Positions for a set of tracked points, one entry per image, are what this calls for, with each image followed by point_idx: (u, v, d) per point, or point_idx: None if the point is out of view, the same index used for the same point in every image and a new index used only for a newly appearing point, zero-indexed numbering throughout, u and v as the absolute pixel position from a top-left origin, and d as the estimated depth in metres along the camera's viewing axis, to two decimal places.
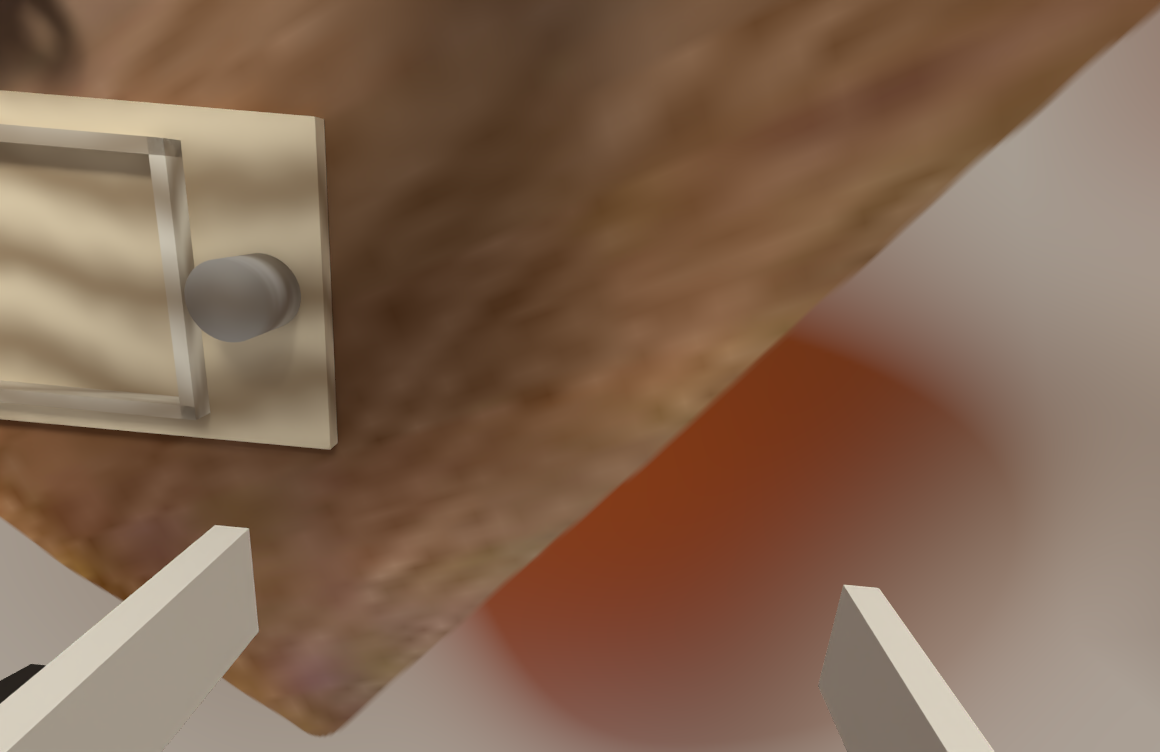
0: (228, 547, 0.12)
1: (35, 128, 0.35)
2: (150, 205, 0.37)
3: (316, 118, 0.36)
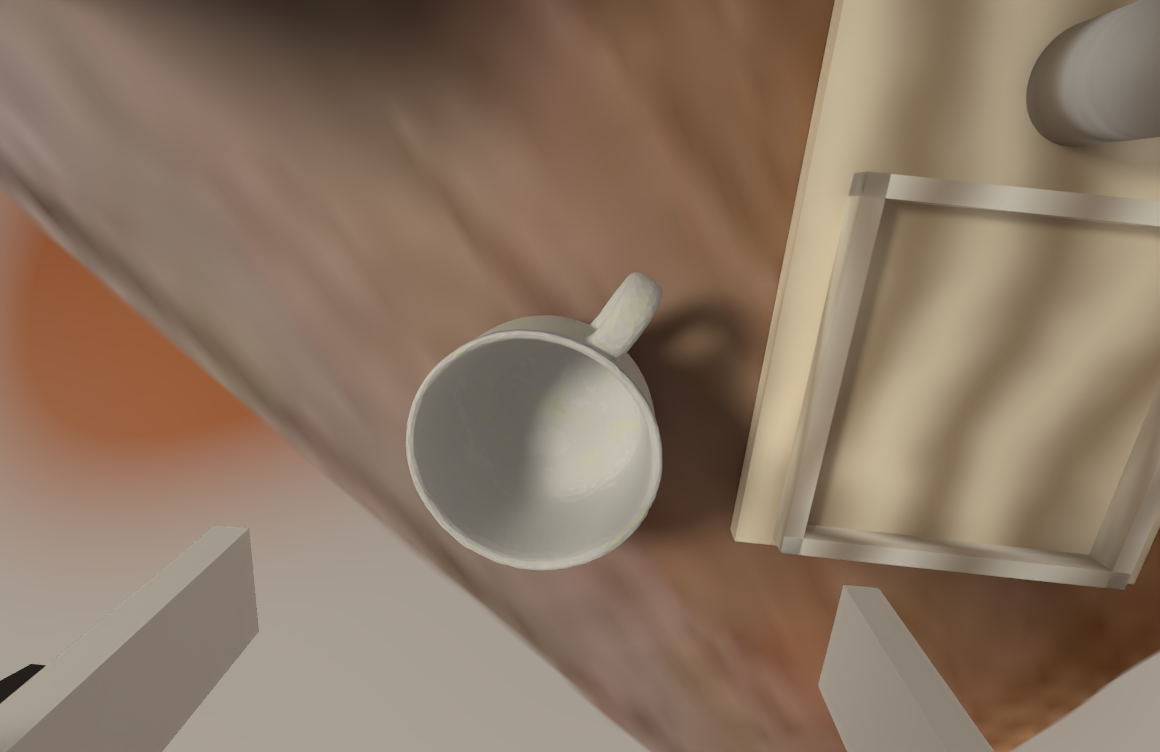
0: (228, 547, 0.12)
1: (829, 345, 0.27)
2: (929, 236, 0.27)
3: None
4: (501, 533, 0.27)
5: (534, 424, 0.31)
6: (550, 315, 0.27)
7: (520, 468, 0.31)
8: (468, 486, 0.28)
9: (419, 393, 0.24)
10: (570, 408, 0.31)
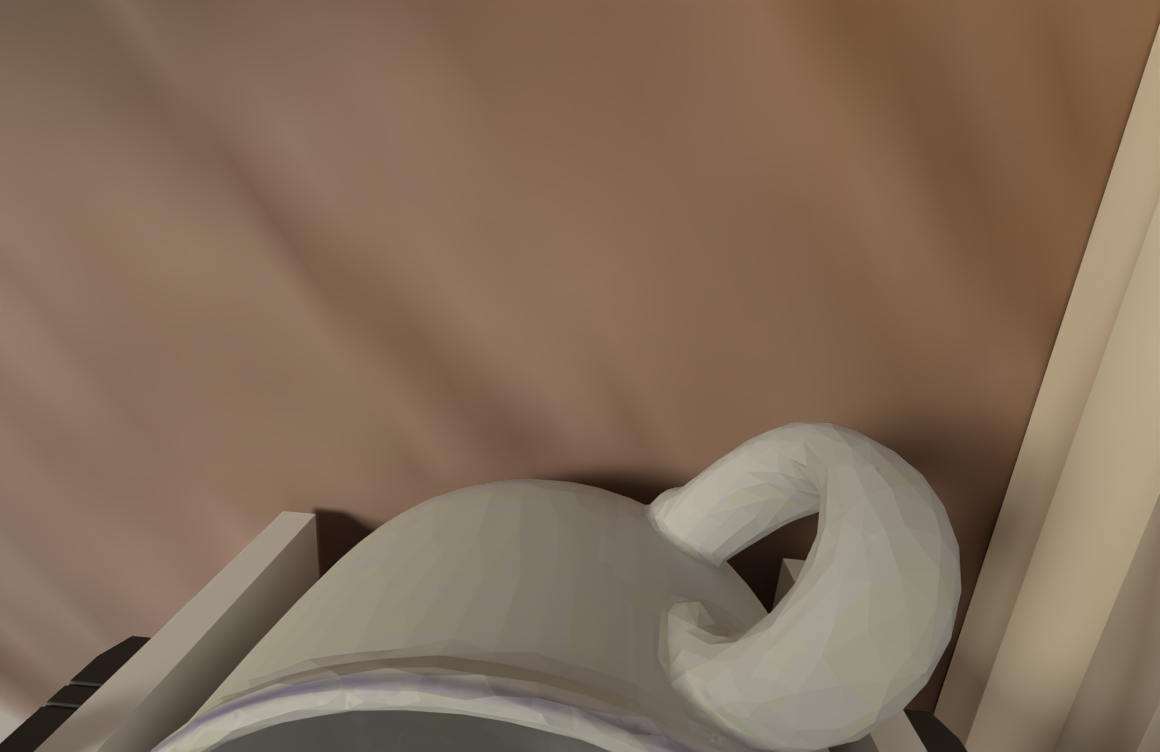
0: (299, 531, 0.13)
1: None
2: None
3: None
4: None
5: None
6: (545, 491, 0.10)
7: None
8: None
9: None
10: None
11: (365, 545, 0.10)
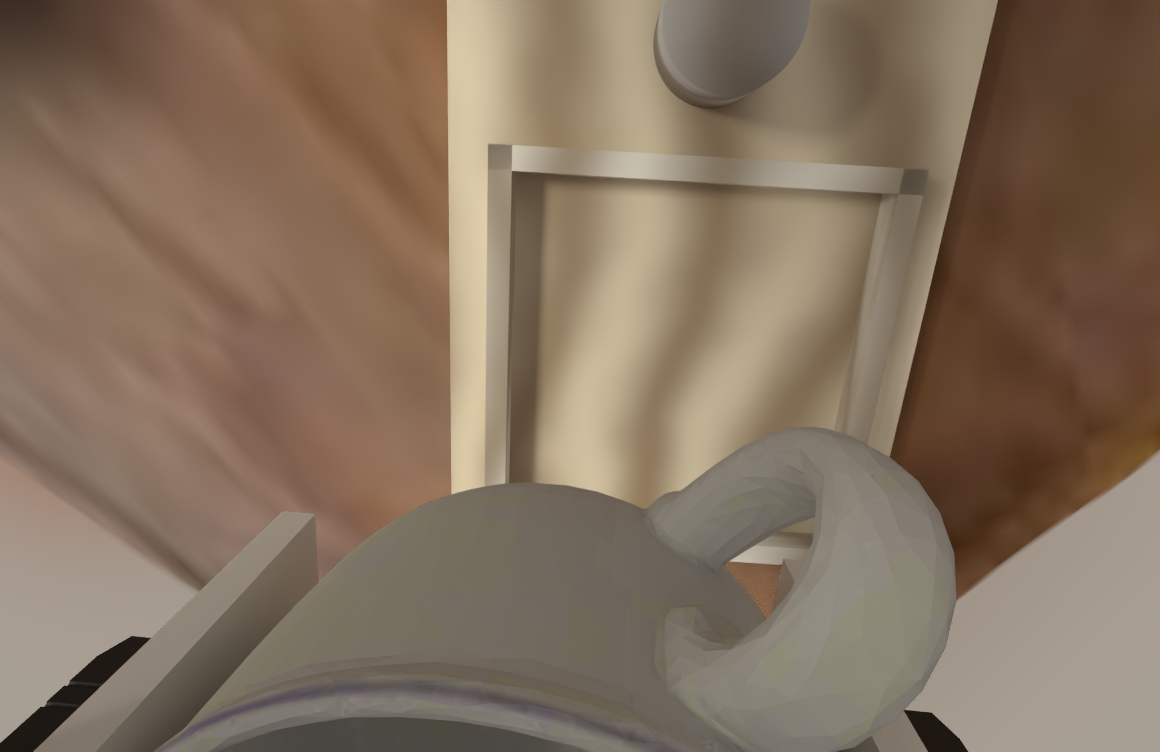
0: (299, 531, 0.13)
1: (488, 328, 0.26)
2: (584, 209, 0.26)
3: None
4: None
5: None
6: (542, 495, 0.10)
7: None
8: None
9: None
10: None
11: (363, 549, 0.10)
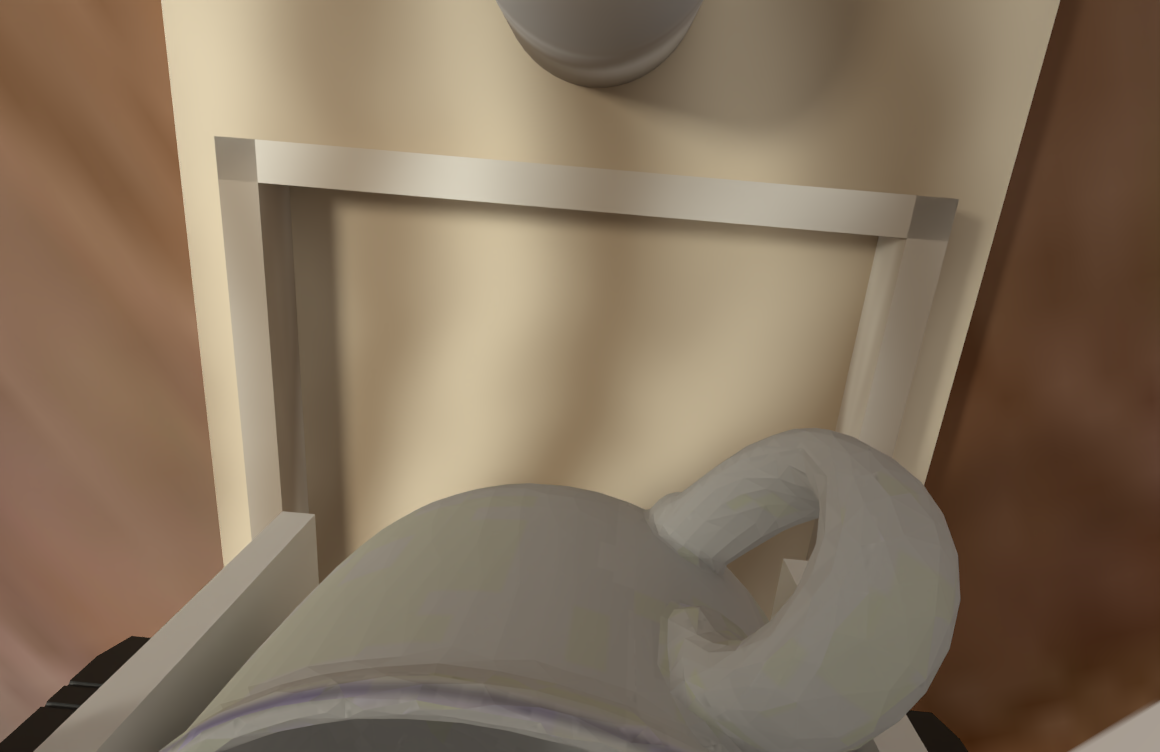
0: (299, 531, 0.13)
1: (245, 431, 0.16)
2: (401, 247, 0.16)
3: None
4: None
5: None
6: (544, 496, 0.10)
7: None
8: None
9: None
10: None
11: (365, 550, 0.10)
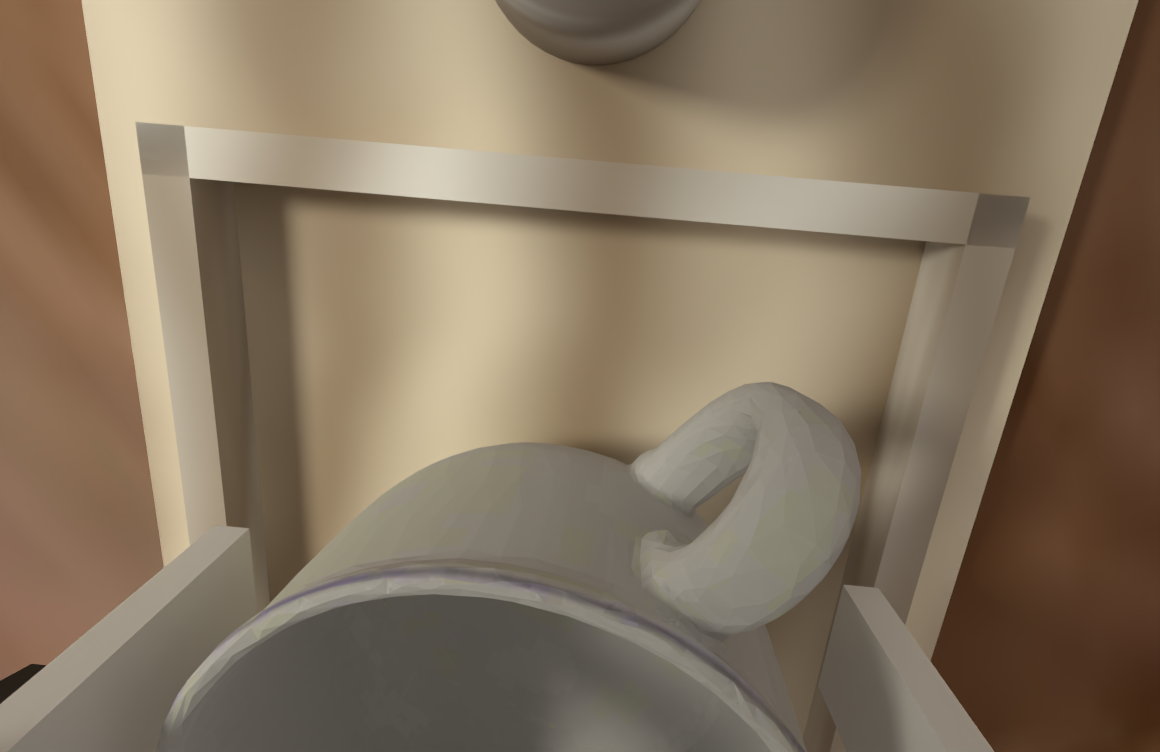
0: (228, 547, 0.12)
1: (184, 468, 0.14)
2: (366, 253, 0.14)
3: None
4: None
5: (510, 634, 0.16)
6: (541, 450, 0.12)
7: (482, 717, 0.16)
8: None
9: (172, 718, 0.09)
10: None
11: (388, 494, 0.12)
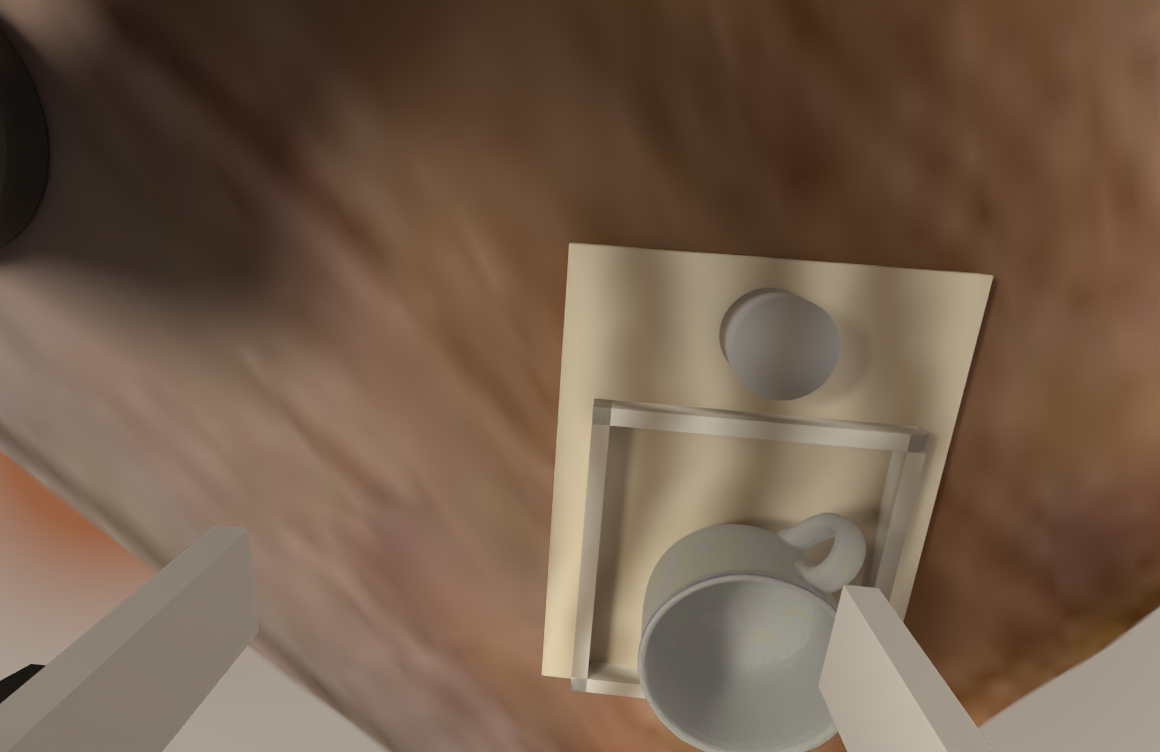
0: (228, 547, 0.12)
1: (584, 532, 0.34)
2: (661, 444, 0.34)
3: (570, 243, 0.31)
4: (704, 720, 0.31)
5: (712, 604, 0.35)
6: (744, 529, 0.32)
7: (698, 642, 0.35)
8: (667, 671, 0.33)
9: (655, 618, 0.28)
10: (746, 593, 0.35)
11: (689, 546, 0.31)
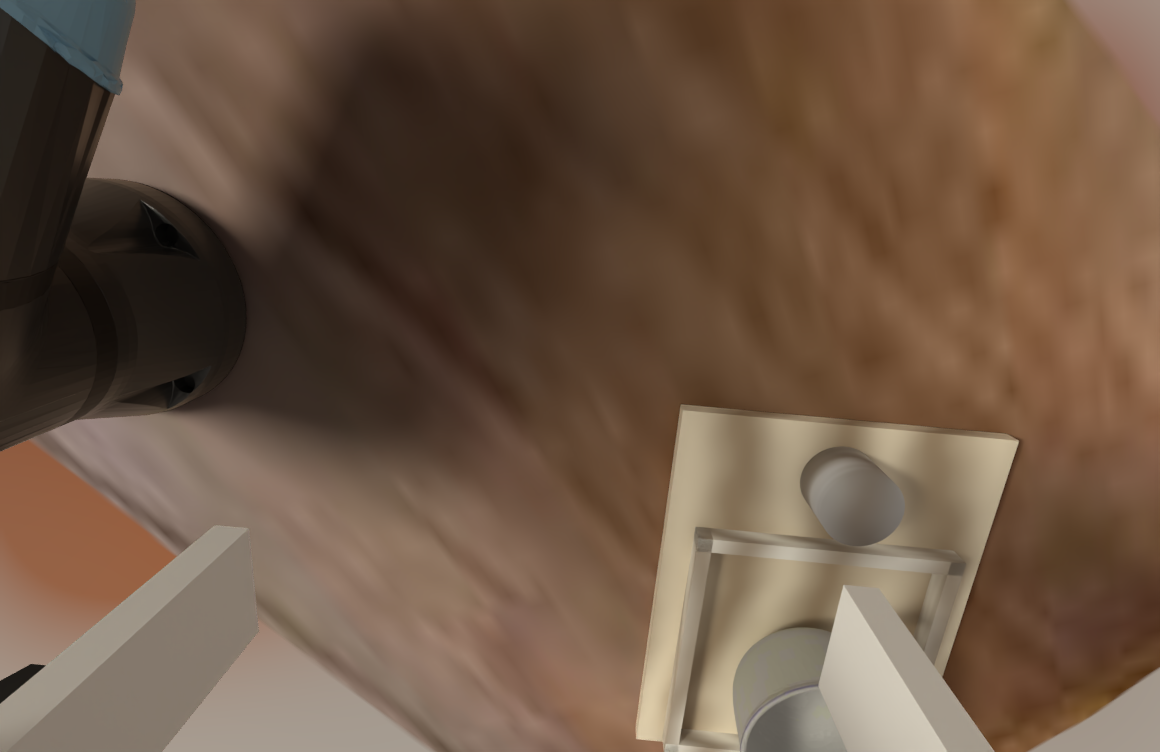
0: (228, 547, 0.12)
1: (684, 632, 0.42)
2: (747, 561, 0.42)
3: (683, 409, 0.39)
4: None
5: None
6: (818, 635, 0.40)
7: (772, 716, 0.44)
8: (753, 745, 0.41)
9: (757, 717, 0.36)
10: None
11: (775, 650, 0.39)
